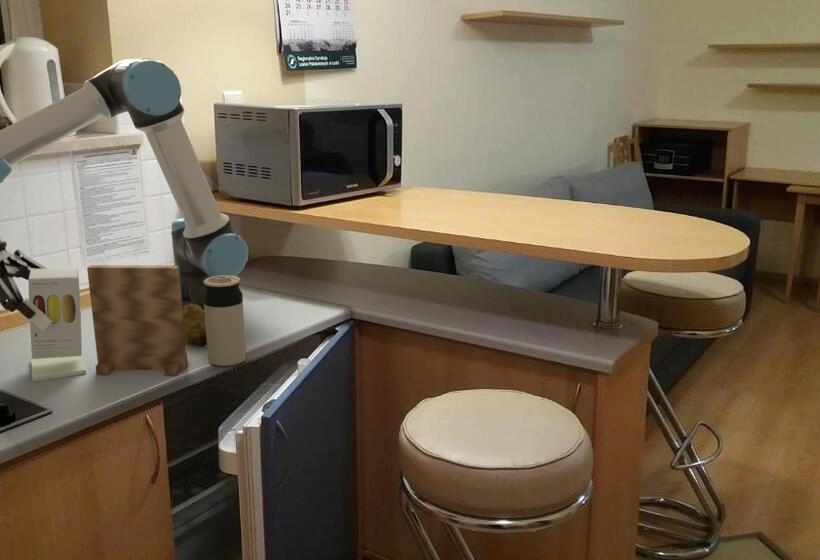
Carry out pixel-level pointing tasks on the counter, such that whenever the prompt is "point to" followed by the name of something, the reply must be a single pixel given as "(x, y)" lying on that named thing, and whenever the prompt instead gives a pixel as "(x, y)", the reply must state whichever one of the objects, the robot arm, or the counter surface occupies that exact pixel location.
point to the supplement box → (56, 312)
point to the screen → (137, 318)
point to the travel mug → (224, 320)
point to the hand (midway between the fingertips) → (62, 316)
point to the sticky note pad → (57, 367)
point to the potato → (194, 325)
